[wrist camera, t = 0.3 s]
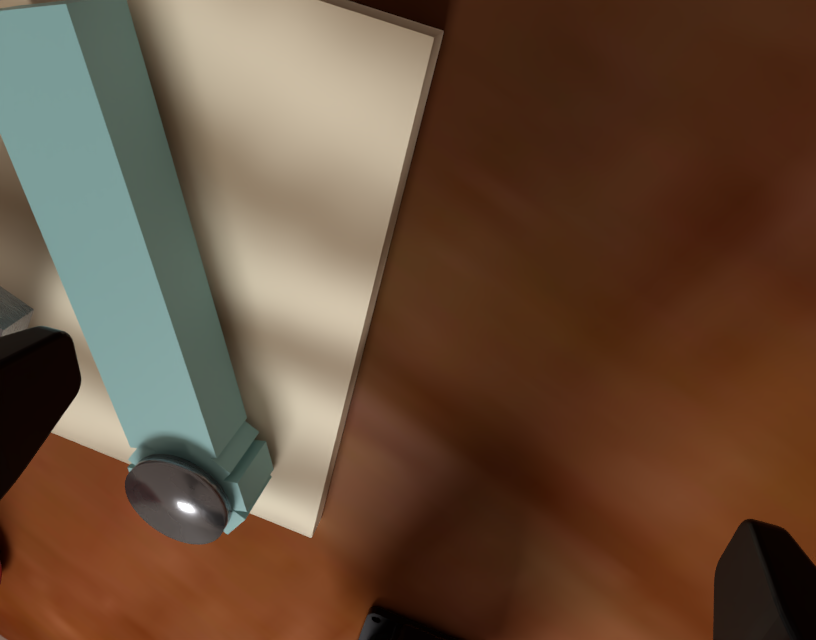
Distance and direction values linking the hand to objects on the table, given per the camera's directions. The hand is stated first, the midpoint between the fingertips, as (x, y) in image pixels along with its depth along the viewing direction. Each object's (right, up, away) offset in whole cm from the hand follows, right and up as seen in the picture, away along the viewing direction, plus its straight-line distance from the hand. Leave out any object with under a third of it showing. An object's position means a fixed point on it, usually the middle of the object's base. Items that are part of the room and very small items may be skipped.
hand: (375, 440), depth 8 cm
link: (-9, +2, +17) cm, 19 cm away
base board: (-12, +5, +18) cm, 23 cm away
